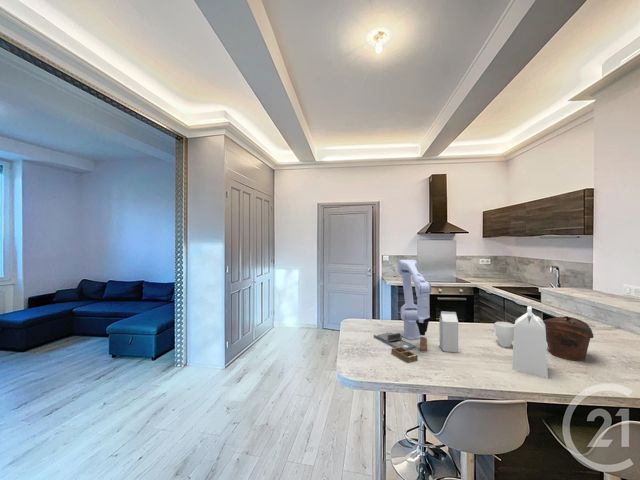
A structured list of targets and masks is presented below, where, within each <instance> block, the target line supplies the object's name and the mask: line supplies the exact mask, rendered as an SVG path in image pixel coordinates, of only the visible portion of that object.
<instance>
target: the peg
mask: <svg viewBox="0 0 640 480" xmlns="http://www.w3.org/2000/svg"><path fill="white" fill-rule="evenodd" d="M419 350H420V351H421V352H427V351H428V338H427V337H424V336H423V337H420V338H419Z"/></svg>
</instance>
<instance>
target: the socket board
mask: <svg viewBox="0 0 640 480" xmlns="http://www.w3.org/2000/svg"><path fill="white" fill-rule="evenodd" d="M390 350H391V352H390V353H391V354H392V355H393V356H394V357H396V358H399V359H400V360H402V361H404V362H405V363H407V364H411V363H414V362H416V361H419V360H418V359H419V358H418V355H417V354H416V353H414V352H412V351H410V350H406V349H404V348H402V347H396V348H393V347H392V348H391V349H390Z"/></svg>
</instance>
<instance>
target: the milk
mask: <svg viewBox="0 0 640 480" xmlns="http://www.w3.org/2000/svg"><path fill="white" fill-rule="evenodd" d="M543 321H544V320H542V318H541V317H539V316H538V315H535V314H534V313H533V308H532V306H529V305H527V308H526V313H524V314H522V315H521V316H519V317H517V319H515V321H514V340H513V342H512V345H513V347H512V366H511V370H513V371H515V372H516V371H517V372H519V373H520V372H521V373H525V374H529V375H532V376H537V377H541V378H546V379H548V377H549V376H548V373H549V372H548V353H547V349H548V348H547V342H546V327H545V324H544V323H543Z"/></svg>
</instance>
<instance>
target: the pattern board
mask: <svg viewBox="0 0 640 480" xmlns="http://www.w3.org/2000/svg"><path fill="white" fill-rule="evenodd" d="M373 338H374V339H377V340H378V341H380V342H381V343H382V342H383V343H384V344H386V345H388V346H390V347H391V348H392V349H393V348H396V347H402V348H404V349H406V350H408V351H410V350H414V349H417V346H416V345H415V344H413V343H410V342H408V341H406V340H404V339H403V338H402V339H399V340H397V341H394V342H393V341H392V342H387V341H385V340H383V339H381V338H380V337H378V336H377V334H373Z"/></svg>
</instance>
